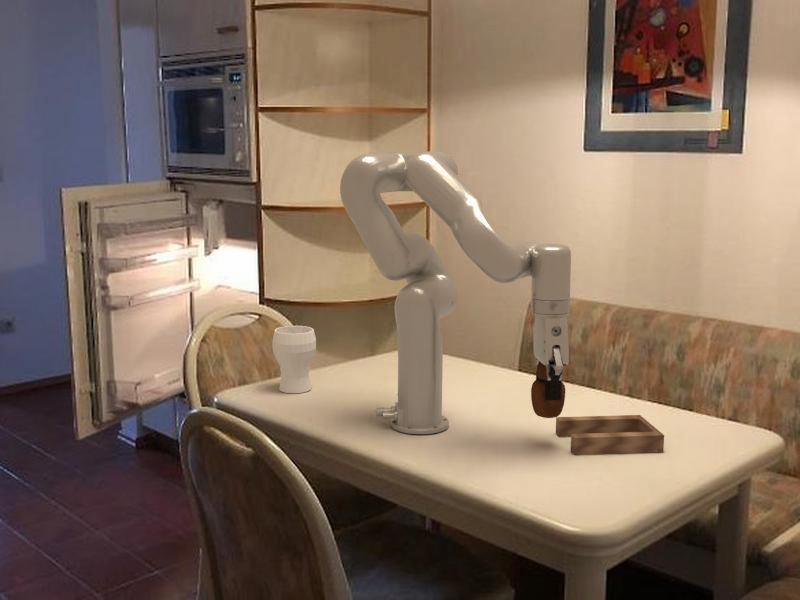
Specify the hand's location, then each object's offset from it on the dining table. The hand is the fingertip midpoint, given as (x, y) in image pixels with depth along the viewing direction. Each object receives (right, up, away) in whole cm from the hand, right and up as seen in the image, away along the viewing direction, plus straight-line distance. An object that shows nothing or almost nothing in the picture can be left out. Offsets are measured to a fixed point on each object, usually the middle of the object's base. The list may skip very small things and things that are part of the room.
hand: (548, 393), depth 182 cm
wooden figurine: (0, -5, +1) cm, 5 cm away
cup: (-56, -3, +41) cm, 69 cm away
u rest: (+12, -10, +3) cm, 16 cm away
